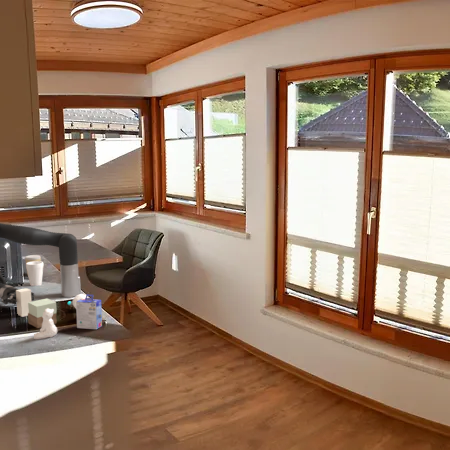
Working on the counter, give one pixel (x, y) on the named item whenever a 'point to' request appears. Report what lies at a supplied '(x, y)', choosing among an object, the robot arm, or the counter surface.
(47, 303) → the tower top slab
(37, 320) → the tower base slab
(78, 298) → the perfume bottle
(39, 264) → the foam cup
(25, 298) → the cream block
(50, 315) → the white creature statuette
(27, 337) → the counter surface
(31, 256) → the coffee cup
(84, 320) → the ink cartridge box
